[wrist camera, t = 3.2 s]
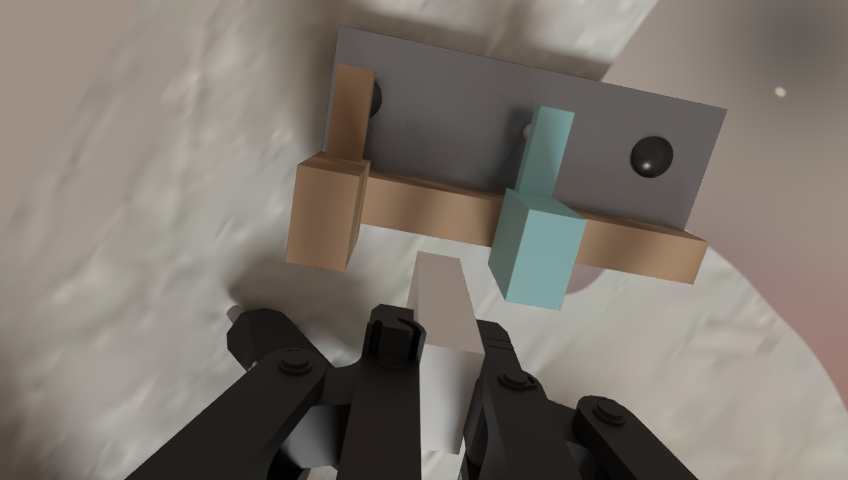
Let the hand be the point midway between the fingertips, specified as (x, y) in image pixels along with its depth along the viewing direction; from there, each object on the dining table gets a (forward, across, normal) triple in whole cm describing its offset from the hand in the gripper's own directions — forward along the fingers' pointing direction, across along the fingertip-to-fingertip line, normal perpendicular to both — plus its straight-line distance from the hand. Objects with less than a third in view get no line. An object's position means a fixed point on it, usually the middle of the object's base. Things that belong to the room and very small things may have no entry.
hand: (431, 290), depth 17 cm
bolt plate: (+18, +6, +4) cm, 19 cm away
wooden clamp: (+17, +6, +2) cm, 18 cm away
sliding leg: (+17, +6, +2) cm, 18 cm away
